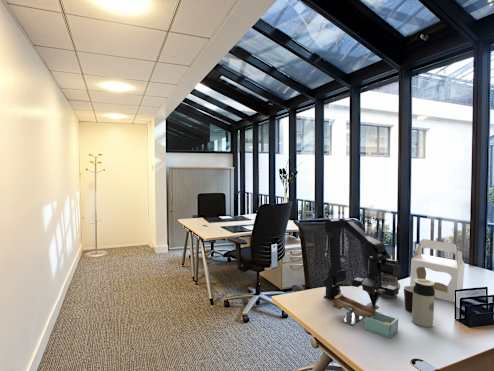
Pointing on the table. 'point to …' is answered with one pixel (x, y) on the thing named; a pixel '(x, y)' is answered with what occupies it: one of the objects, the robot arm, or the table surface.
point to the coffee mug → (408, 298)
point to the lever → (354, 306)
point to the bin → (382, 324)
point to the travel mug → (423, 302)
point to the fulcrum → (351, 317)
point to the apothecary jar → (388, 281)
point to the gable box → (438, 267)
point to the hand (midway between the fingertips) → (373, 305)
